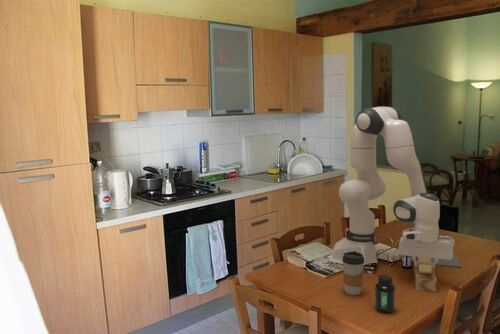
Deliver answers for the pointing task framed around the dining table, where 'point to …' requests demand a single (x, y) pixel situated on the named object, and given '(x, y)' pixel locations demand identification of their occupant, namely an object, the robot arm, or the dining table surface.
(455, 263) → the mat
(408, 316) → the dining table surface
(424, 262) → the beige rectangular block
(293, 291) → the dining table surface
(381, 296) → the supplement bottle
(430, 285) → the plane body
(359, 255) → the coffee cup
